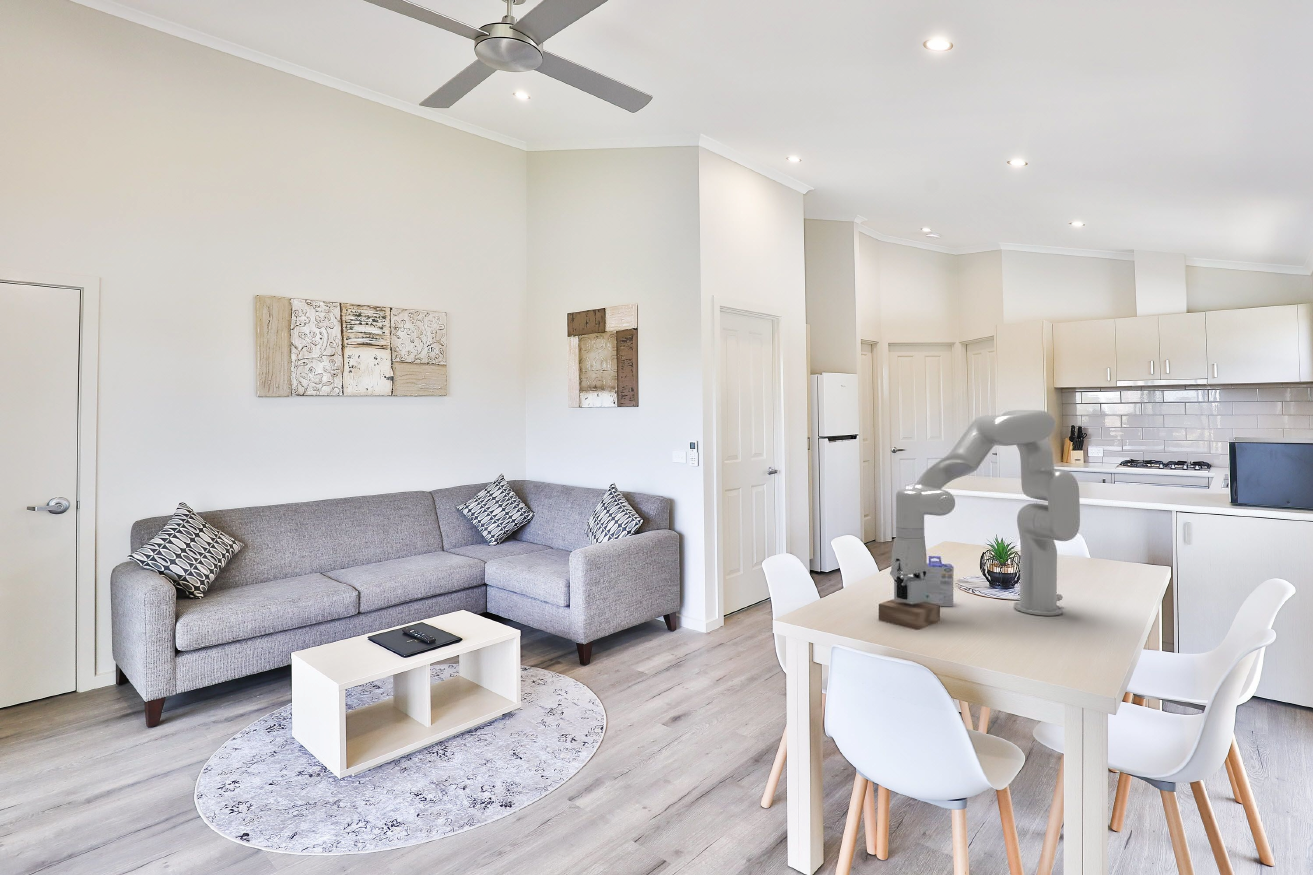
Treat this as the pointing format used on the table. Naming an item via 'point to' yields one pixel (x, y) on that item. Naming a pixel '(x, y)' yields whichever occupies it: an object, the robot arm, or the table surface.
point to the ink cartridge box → (939, 582)
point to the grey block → (913, 590)
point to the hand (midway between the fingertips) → (909, 596)
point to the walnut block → (909, 613)
